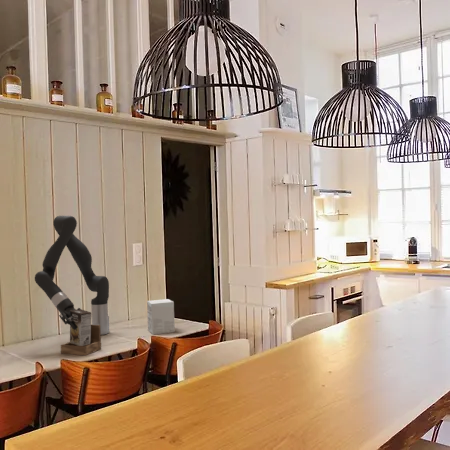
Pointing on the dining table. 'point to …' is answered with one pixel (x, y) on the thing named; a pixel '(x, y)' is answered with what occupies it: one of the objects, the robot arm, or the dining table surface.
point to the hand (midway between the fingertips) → (81, 326)
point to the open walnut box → (87, 349)
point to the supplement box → (160, 316)
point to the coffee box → (81, 328)
